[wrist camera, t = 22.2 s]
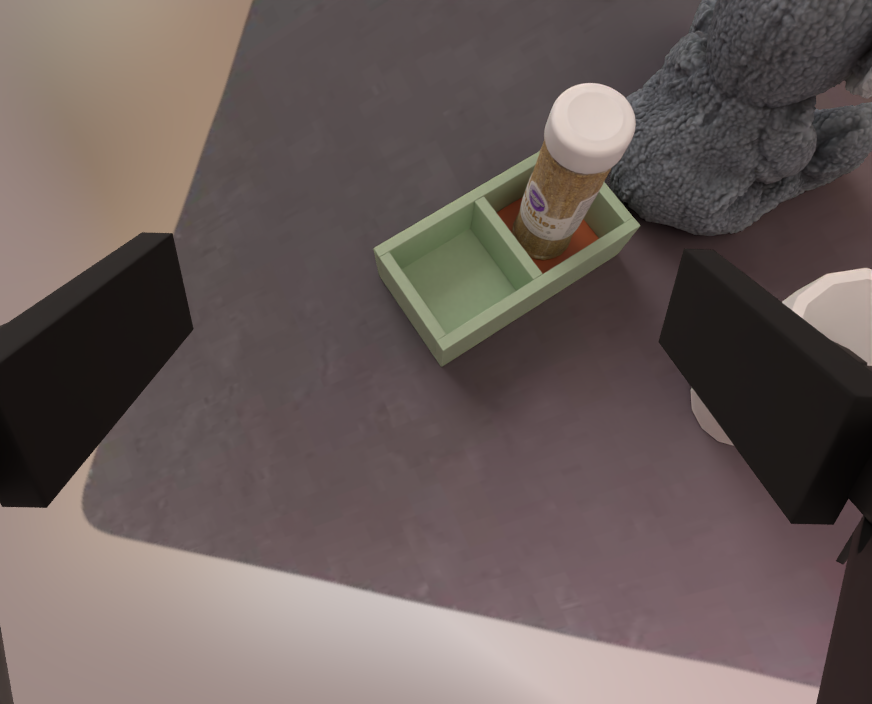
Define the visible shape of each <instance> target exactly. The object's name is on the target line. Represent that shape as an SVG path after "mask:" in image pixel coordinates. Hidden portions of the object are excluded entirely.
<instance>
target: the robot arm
mask: <svg viewBox="0 0 872 704" xmlns="http://www.w3.org/2000/svg"><path fill="white" fill-rule="evenodd" d="M192 330H193V325H192V320H191V316H190V311H189V307H188V302H187V298H186V293H185V288H184V284H183V279H182V275H181V270H180V266H179V261H178V257H177V252H176V247H175V243H174V238H173V234H172V233H141V234H139V235H138V236H136V237H135V238H133V239H132V240H130V241H129V242H127V243H126V244H124V245H123V246H121V247H120V248H118V249H117V250H115V251H114V252H112V253H111V254H110V255H108V256H106V257H105V258H104V259H102V260H100V261H99V262H97V263H96V264H94V265H93V266H92V267H90V268H89V269H87V270H86V271H84V272H83V273H81V274H80V275H78V276H77V277H75V278H74V279H72V280H71V281H69V282H68V283H66V284H65V285H63V286H62V287H60V288H59V289H57V290H56V291H54V292H53V293H52V294H50V295H48V296H47V297H45V298H44V299H43V300H41V301H39V302H38V303H36V304H35V305H34V306H32V307H31V308H29V309H28V310H26V311H25V312H23V313H22V314H20V315H19V316H17V317H16V318H14V319H13V320H11V321H10V322H8V323H6V324H4V325H1V326H0V503H1V505H2V507H39V508H41V507H42V508H47V507H48V505H49V504H50V503H51V502H52V501H53V499H54V498H55V497H56V496H57V495H58V493H59V492H60V491H61V489H62V488H63V487H64V486H65V485H66V484H67V482H68V481H69V480H70V478H71V477H72V476H73V475H74V474H75V472H76V471H77V470H78V469H79V468H80V467H81V465H82V464H83V463H84V462H85V460H86V459H87V458H88V457H89V456H90V454H91V453H92V452H93V451H94V450H95V448H96V447H97V446H98V445H99V443H100V442H101V441H102V440H103V439H104V437H105V436H106V435H107V434H108V433H109V431H110V430H111V429H112V428H113V426H114V425H115V424H116V423H117V422H118V420H119V419H120V418H121V417H122V416H123V414H124V413H125V412H126V411H127V409H128V408H129V407H130V406H131V405H132V403H133V402H134V401H135V400H136V398H137V397H138V396H139V395H140V394H141V392H142V391H143V390H144V389H145V388H146V386H147V385H148V384H149V383H150V381H151V380H152V379H153V378H154V377H155V375H156V374H157V373H158V372H159V371H160V369H161V368H162V367H163V366H164V364H165V363H166V362H167V361H168V360H169V358H170V357H171V356H172V355H173V354H174V352H175V351H176V350H177V349H178V347H179V346H180V345H181V344H182V343H183V341H184V340H185V339H186V338H187V337H188V335H189V334H190V333H191V332H192ZM659 343H660V345H661V346H662V347H663V349H664V350H665V351H666V353H667V354H668V355H669V357H670V358H671V360H672V361H673V362H674V364H675V365H676V366H677V368H678V369H679V371H680V372H681V373H682V375H683V376H684V377H685V379H686V380H687V382H688V383H689V384H690V386H691V387H692V388H693V390H694V391H695V392H696V394H697V395H698V397H699V398H700V399H701V401H702V402H703V403H704V405H705V406H706V408H707V409H708V410H709V412H710V413H711V414H712V416H713V417H714V419H715V420H716V421H717V423H718V424H719V425H720V427H721V428H722V429H723V431H724V432H725V434H726V435H727V436H728V438H729V439H730V440H731V442H732V443H733V445H734V446H735V447H736V449H737V450H738V451H739V453H740V454H741V456H742V457H743V458H744V460H745V461H746V462H747V464H748V465H749V466H750V468H751V469H752V471H753V472H754V473H755V475H756V476H757V477H758V479H759V480H760V482H761V483H762V484H763V486H764V487H765V488H766V490H767V491H768V493H769V494H770V495H771V497H772V498H773V499H774V501H775V502H776V503H777V505H778V506H779V508H780V509H781V510H782V512H783V513H784V514H785V516H786V517H787V519H788V520H789V521H790V523H791V524H832V525H834V523H835V521H836V519H837V518H838V516H839V514H840V512H841V511H842V509H843V507H844V505H845V504H846V502H847V500H848V498H849V499H850V500H851V502H852V503H853V504H854V505H855V506H856V507H857V508H858V509H859V511H860V512H861V513H862V514H863V517H862V519H861V520H860V522H859V524H858V525H857V527H856V529H855V530H854V532H853V534H852V535H851V537H850V539H849V540H848V542H847V543H846V545H845V547H844V548H843V550H842V552H841V553H840V555H839V557H838V558H837V560H836V561H837V562H839V563H841V564H844V563H845V562H846V561H847V565H846V570H845V574H844V579H843V584H842V588H841V593H840V597H839V602H838V607H837V611H836V616H835V620H834V625H833V630H832V634H831V639H830V643H829V648H828V653H827V657H826V662H825V667H824V671H823V676H822V680H821V685H820V690H819V694H818V699H817V703H816V704H872V366H867V362H866V361H864V360H863V359H862V358H860V357H859V356H858V355H856V354H855V353H854V352H852V351H851V350H850V349H848V348H846V347H844V346H842V345H840V344H838V343H836V342H834V341H832V340H830V339H829V338H827V337H826V336H825V335H824V334H822V333H821V332H820V331H818V330H817V329H816V328H814V327H813V326H812V325H811V324H809V323H808V322H807V321H805V320H804V319H803V318H801V317H800V316H799V315H798V314H796V313H795V312H794V311H792V310H791V309H790V308H788V307H787V306H786V305H785V304H783V303H782V302H781V301H779V300H778V299H777V298H775V297H774V296H773V295H772V294H770V293H769V292H768V291H766V290H765V289H764V288H762V287H761V286H760V285H759V284H757V283H756V282H755V281H753V280H752V279H751V278H749V277H748V276H747V275H746V274H744V273H743V272H742V271H740V270H739V269H738V268H736V267H735V266H734V265H733V264H731V263H730V262H729V261H727V260H726V259H725V258H723V257H722V256H721V255H720V254H718V253H717V252H716V251H714V250H704V249H684V251H683V255H682V258H681V262H680V266H679V269H678V273H677V277H676V280H675V284H674V287H673V291H672V295H671V298H670V302H669V306H668V309H667V313H666V317H665V320H664V324H663V328H662V331H661V335H660V339H659ZM0 704H14V703H13V697H12V692H11V686H10V680H9V674H8V668H7V663H6V657H5V651H4V645H3V640H2V634H1V628H0Z"/></svg>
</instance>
